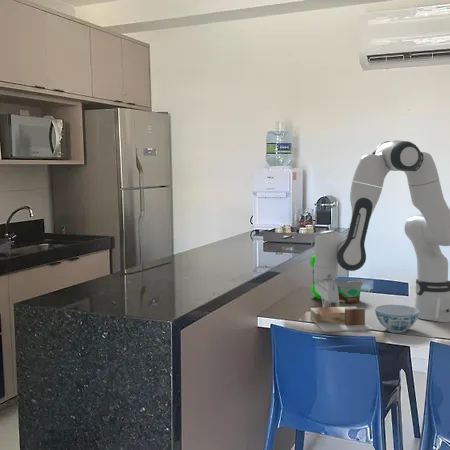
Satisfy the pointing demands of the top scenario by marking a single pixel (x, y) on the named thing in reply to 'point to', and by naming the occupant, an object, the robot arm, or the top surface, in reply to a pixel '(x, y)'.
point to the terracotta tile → (329, 312)
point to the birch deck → (318, 319)
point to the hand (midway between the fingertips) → (325, 308)
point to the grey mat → (342, 327)
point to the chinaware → (396, 317)
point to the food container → (349, 291)
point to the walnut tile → (354, 316)
